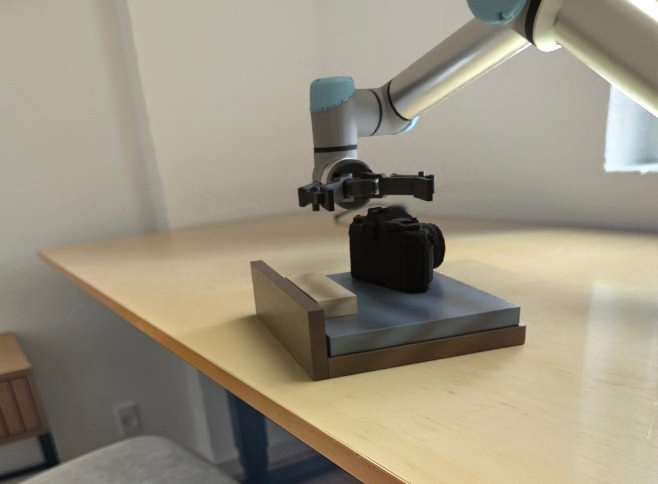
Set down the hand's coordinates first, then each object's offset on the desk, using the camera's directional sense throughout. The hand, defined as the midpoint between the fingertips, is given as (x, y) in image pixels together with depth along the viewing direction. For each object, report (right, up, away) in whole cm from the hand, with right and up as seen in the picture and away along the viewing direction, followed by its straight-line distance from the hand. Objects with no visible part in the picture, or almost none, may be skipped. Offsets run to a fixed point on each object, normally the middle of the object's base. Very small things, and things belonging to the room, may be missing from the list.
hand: (381, 195), depth 87 cm
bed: (-1, -19, -8) cm, 21 cm away
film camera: (+3, -12, -4) cm, 13 cm away
